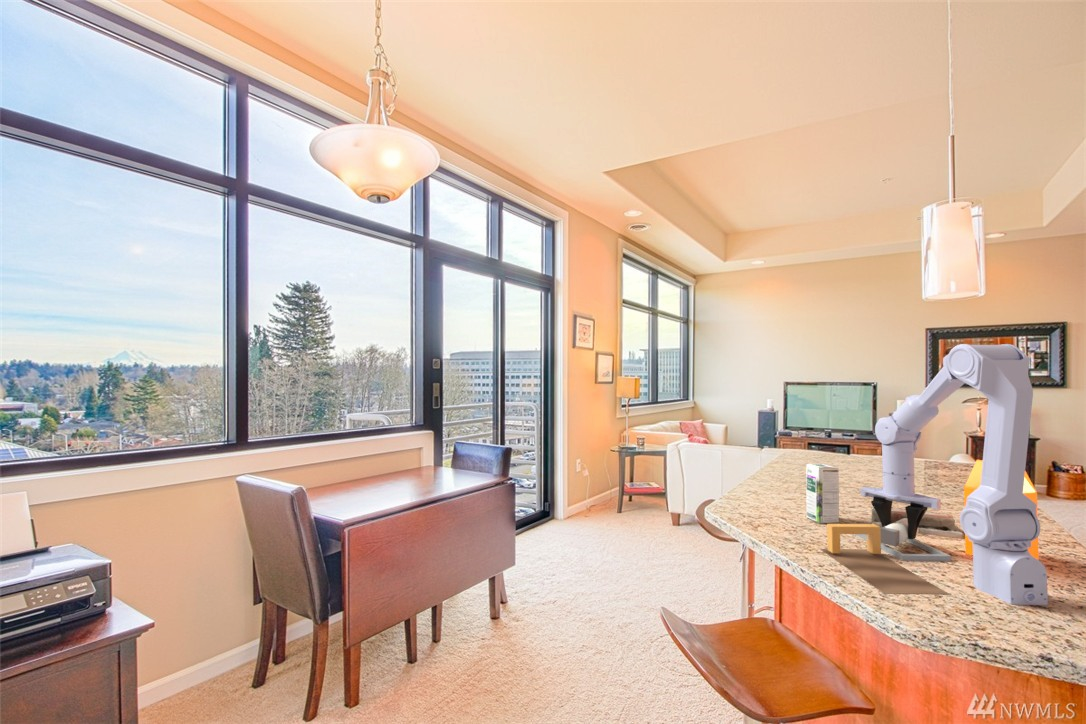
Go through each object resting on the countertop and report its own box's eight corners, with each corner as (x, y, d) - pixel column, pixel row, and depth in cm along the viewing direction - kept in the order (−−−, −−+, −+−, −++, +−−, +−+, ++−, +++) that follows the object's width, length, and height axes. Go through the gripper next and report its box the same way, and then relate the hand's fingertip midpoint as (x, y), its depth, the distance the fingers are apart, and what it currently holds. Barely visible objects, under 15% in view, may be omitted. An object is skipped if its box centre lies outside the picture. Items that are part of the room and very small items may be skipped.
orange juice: (1012, 568, 100) (1009, 467, 101) (964, 553, 109) (962, 460, 109) (1039, 564, 102) (1037, 465, 103) (991, 550, 111) (988, 458, 111)
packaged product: (871, 509, 128) (871, 501, 136) (871, 529, 128) (871, 519, 136) (963, 520, 118) (956, 510, 127) (964, 541, 118) (957, 530, 126)
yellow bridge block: (881, 553, 105) (880, 527, 105) (832, 553, 105) (832, 526, 105) (875, 550, 107) (874, 524, 107) (827, 549, 107) (827, 523, 107)
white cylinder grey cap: (898, 549, 105) (898, 530, 105) (876, 544, 109) (876, 525, 109) (918, 539, 112) (918, 521, 112) (897, 534, 115) (897, 516, 115)
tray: (951, 565, 102) (951, 555, 102) (902, 565, 102) (902, 555, 102) (897, 538, 119) (897, 530, 119) (855, 538, 119) (855, 529, 119)
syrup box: (805, 517, 136) (804, 463, 137) (826, 516, 137) (825, 463, 137) (819, 523, 131) (818, 467, 131) (840, 523, 131) (839, 466, 131)
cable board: (950, 600, 87) (950, 594, 87) (884, 599, 87) (884, 593, 87) (872, 554, 109) (872, 549, 109) (820, 553, 109) (819, 548, 109)
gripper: (854, 469, 114) (855, 530, 114) (931, 480, 103) (932, 548, 102) (867, 466, 119) (869, 524, 118) (943, 476, 107) (945, 541, 106)
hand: (899, 535), depth 111 cm, fingers open, 4 cm apart
